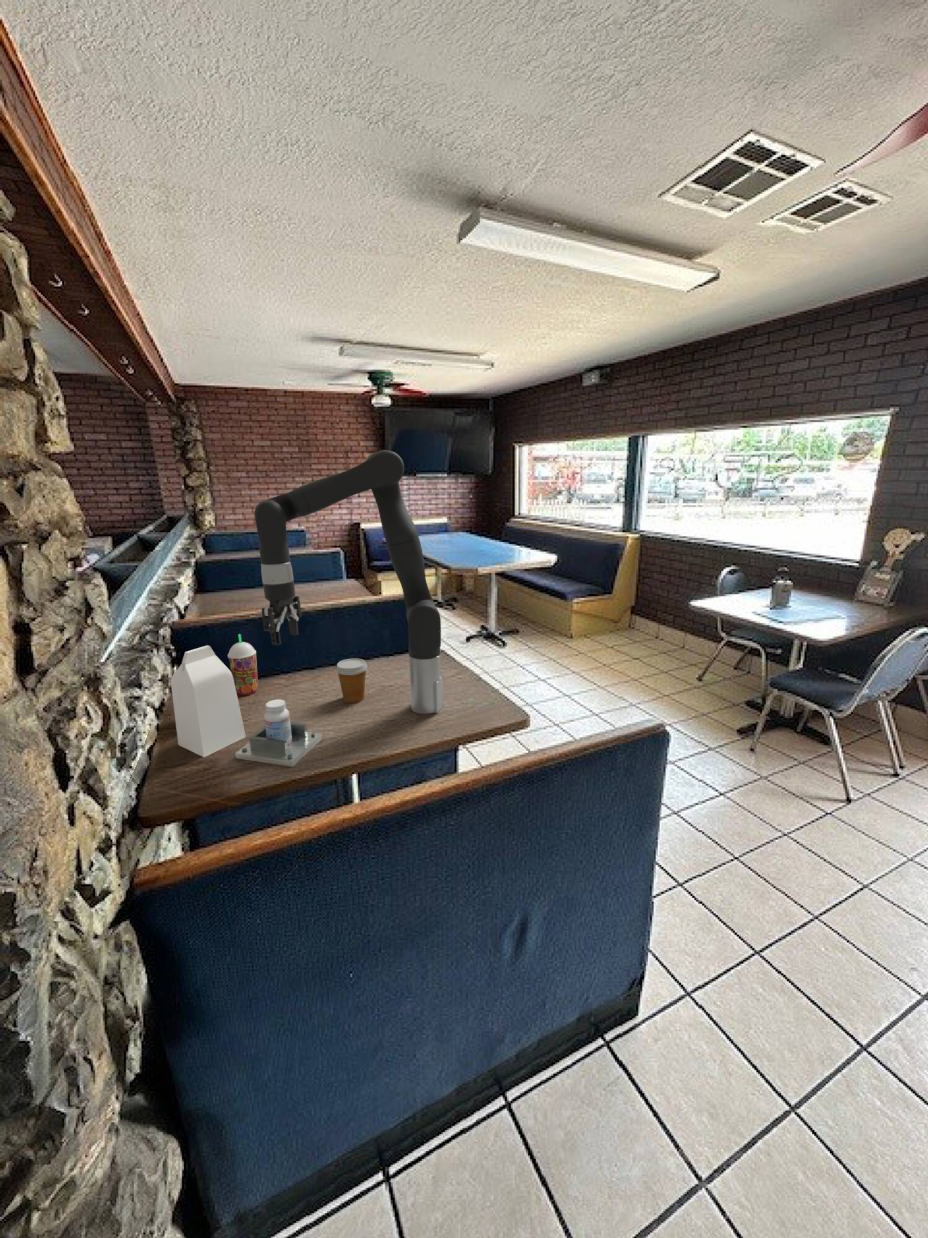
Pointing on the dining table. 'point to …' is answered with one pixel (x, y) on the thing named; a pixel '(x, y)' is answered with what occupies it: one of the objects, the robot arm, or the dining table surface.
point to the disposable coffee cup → (352, 679)
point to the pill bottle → (277, 721)
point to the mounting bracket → (279, 746)
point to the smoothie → (243, 667)
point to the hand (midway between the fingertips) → (285, 639)
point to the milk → (205, 703)
